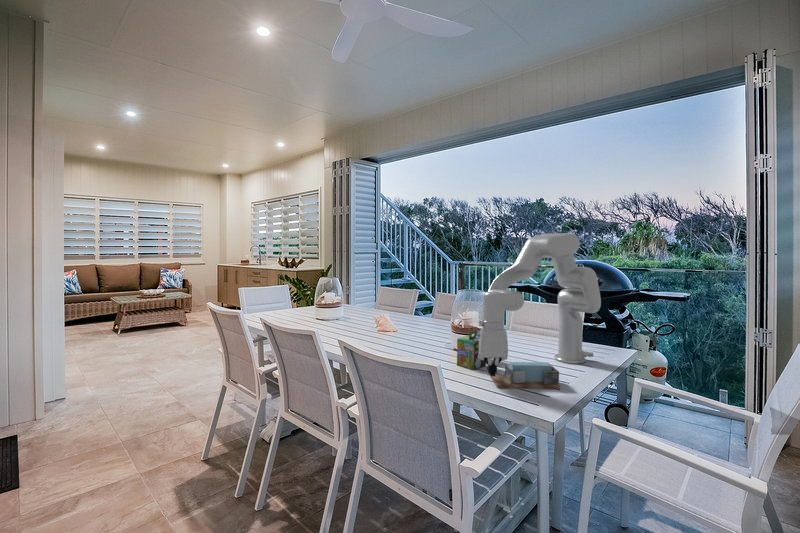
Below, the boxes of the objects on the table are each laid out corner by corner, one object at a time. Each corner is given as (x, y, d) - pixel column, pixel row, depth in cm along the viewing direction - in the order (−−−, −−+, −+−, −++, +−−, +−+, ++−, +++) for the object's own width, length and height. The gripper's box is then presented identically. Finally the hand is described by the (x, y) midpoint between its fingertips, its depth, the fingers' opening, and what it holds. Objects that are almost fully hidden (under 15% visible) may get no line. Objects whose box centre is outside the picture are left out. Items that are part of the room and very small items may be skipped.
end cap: (518, 375, 149) (518, 364, 149) (524, 383, 141) (525, 371, 141) (505, 375, 150) (505, 364, 149) (510, 382, 141) (510, 371, 141)
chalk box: (468, 361, 173) (469, 327, 172) (486, 365, 167) (487, 330, 166) (455, 365, 167) (456, 330, 166) (474, 370, 160) (474, 334, 159)
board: (549, 378, 150) (549, 363, 150) (560, 389, 139) (560, 373, 139) (490, 377, 151) (491, 362, 151) (497, 388, 140) (497, 372, 140)
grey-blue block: (547, 378, 147) (548, 362, 147) (551, 382, 143) (551, 365, 143) (509, 377, 147) (509, 361, 147) (512, 381, 143) (512, 365, 143)
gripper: (474, 327, 141) (473, 378, 142) (516, 327, 140) (515, 378, 141) (470, 323, 148) (470, 371, 149) (511, 323, 148) (510, 372, 149)
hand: (492, 375), depth 145 cm, fingers closed
